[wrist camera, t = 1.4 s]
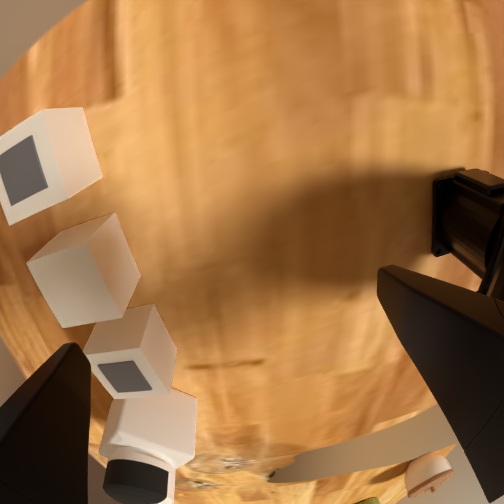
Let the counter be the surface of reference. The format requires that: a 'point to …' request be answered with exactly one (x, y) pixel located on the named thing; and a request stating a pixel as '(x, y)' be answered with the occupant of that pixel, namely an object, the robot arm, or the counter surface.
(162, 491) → the medicine bottle
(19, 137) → the labelled cube
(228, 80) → the counter surface
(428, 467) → the lidded jar
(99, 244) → the plain cube
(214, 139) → the counter surface
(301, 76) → the counter surface
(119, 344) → the labelled cube a
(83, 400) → the robot arm
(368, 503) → the plant pot
